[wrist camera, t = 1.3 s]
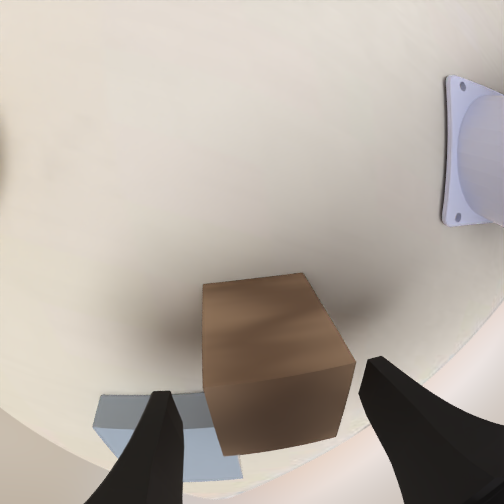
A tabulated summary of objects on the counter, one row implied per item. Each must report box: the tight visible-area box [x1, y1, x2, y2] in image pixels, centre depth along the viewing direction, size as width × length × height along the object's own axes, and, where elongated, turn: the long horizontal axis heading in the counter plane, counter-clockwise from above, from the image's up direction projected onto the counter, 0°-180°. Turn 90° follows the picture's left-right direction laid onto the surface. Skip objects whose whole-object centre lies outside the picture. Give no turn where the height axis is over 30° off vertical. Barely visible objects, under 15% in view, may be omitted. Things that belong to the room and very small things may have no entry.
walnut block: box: [202, 273, 356, 457], centre depth 11 cm, size 4×4×6 cm
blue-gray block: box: [93, 392, 243, 482], centre depth 16 cm, size 8×8×3 cm
